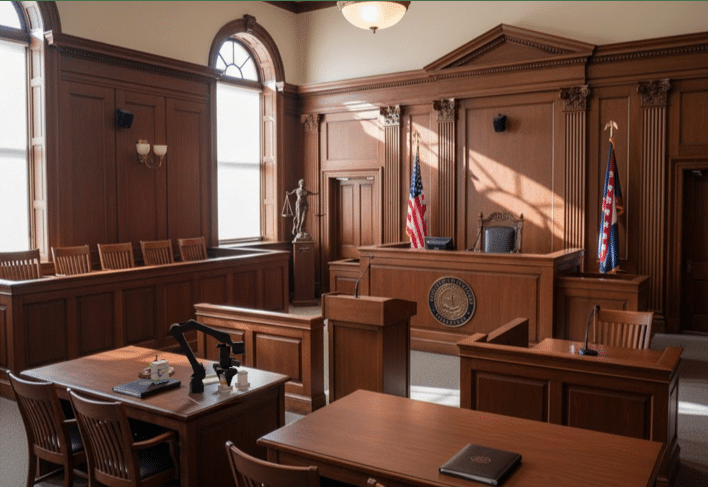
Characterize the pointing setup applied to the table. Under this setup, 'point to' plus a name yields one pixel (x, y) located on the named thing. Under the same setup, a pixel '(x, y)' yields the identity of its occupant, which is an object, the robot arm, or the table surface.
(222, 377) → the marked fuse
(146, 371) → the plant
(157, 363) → the ink box
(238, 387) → the block
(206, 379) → the tray
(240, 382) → the plain fuse
